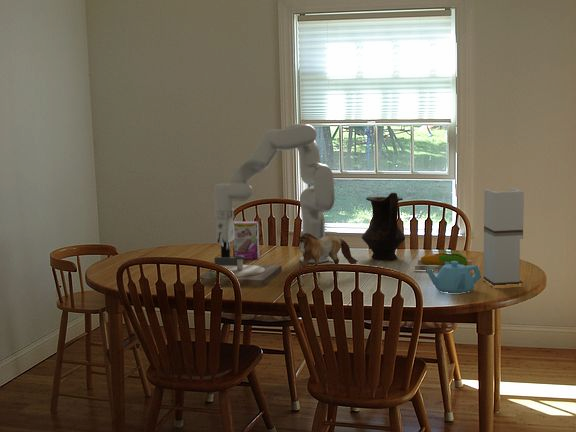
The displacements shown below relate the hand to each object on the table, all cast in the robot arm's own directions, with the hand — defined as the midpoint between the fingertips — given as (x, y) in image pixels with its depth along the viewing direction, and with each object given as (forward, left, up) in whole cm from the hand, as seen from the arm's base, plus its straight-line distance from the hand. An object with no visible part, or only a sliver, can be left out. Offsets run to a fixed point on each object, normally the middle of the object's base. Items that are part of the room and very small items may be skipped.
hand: (225, 258), depth 327 cm
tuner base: (-8, +6, -6) cm, 12 cm away
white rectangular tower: (-109, +3, -6) cm, 109 cm away
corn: (-86, -20, -7) cm, 88 cm away
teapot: (-92, +15, -6) cm, 94 cm away
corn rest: (-86, -20, -6) cm, 88 cm away
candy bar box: (+1, -30, -6) cm, 30 cm away
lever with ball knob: (-4, +6, -3) cm, 8 cm away
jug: (-60, -35, -6) cm, 70 cm away
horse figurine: (-45, +8, -6) cm, 46 cm away
